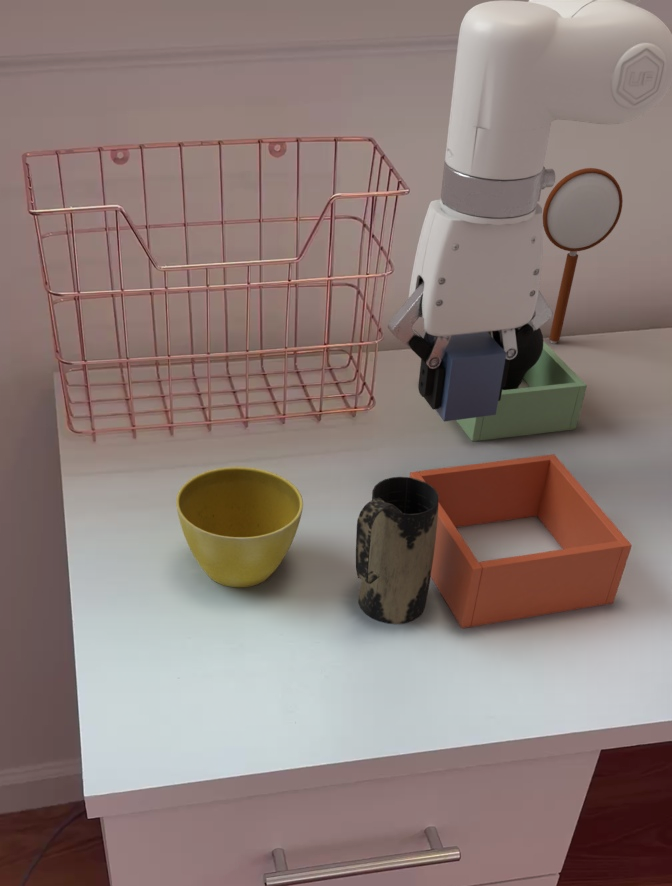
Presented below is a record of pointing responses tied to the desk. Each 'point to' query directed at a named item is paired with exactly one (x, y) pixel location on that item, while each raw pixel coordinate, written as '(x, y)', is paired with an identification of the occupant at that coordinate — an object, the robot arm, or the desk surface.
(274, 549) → the yellow bowl
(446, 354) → the block
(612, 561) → the block bin
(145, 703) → the desk surface
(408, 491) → the mug
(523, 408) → the bulb bin
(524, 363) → the light bulb
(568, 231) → the magnifying glass
